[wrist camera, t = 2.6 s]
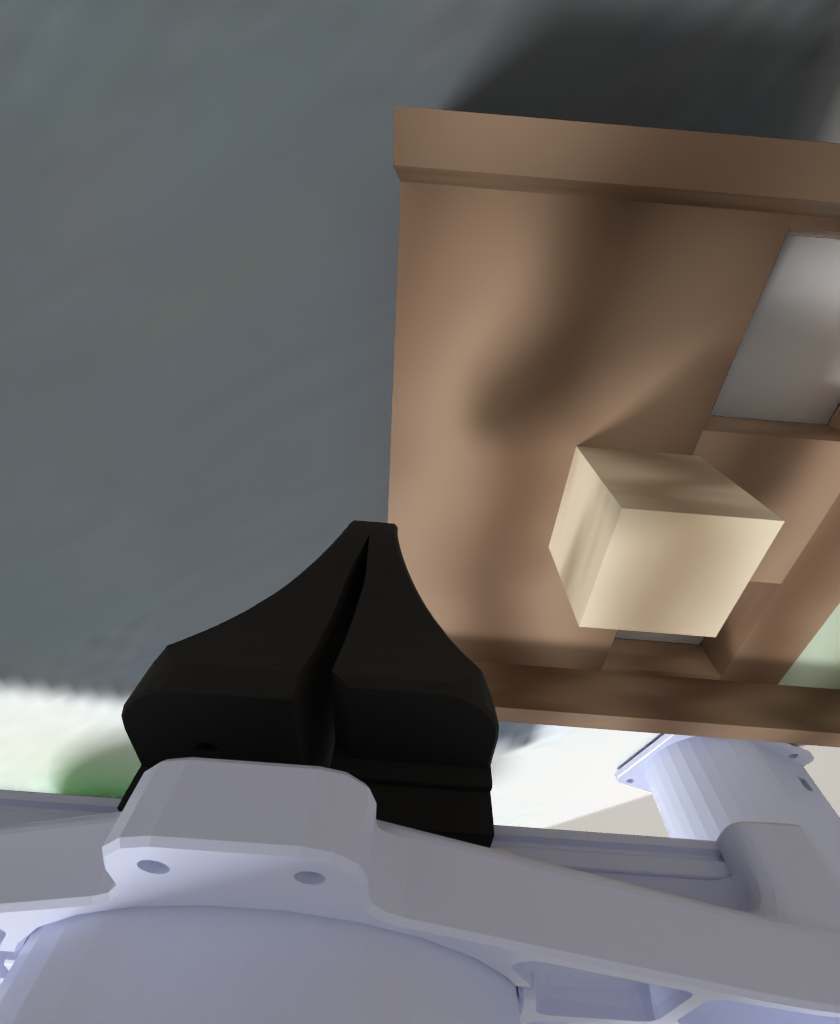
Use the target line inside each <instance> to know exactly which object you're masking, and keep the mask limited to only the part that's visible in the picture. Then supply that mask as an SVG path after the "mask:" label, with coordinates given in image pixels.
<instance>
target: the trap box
mask: <svg viewBox="0 0 840 1024" xmlns="http://www.w3.org/2000/svg"><path fill="white" fill-rule="evenodd" d="M393 166H394V168H395V170H396V173H397V175H398V177H399V179H400V181H401V193H400V218H399V244H398V270H397V296H396V322H395V347H394V373H393V399H392V425H391V451H390V477H389V502H388V523H393V524H395V525H396V526H397V527H398V540H399V545H400V549H401V552H402V556H403V558H404V561H405V564H406V567H407V569H408V572H409V574H410V577H411V579H412V581H413V583H414V585H415V587H416V589H417V591H418V593H419V595H420V597H421V598H422V600H423V602H424V603H425V605H426V607H427V608H428V610H429V611H430V613H431V614H432V616H433V617H434V619H435V620H436V621H437V623H438V624H439V625H440V627H441V628H442V629H443V630H444V632H445V633H446V634H447V636H448V637H449V638H450V639H451V640H452V641H453V643H454V644H455V645H456V646H457V647H458V648H459V649H460V650H461V651H462V652H463V653H464V654H465V655H466V656H467V657H468V658H469V659H470V660H471V661H472V662H473V663H474V664H475V665H476V666H477V667H478V668H480V669H481V670H482V673H483V675H484V677H485V680H486V682H487V685H488V687H489V690H490V693H491V696H492V699H493V703H494V706H495V710H496V714H497V718H498V721H505V722H518V723H531V724H544V725H557V726H570V727H583V728H596V729H609V730H622V731H635V732H648V733H661V734H674V735H687V736H700V737H713V738H726V739H739V740H753V741H766V742H779V743H792V744H805V745H818V746H832V747H840V404H839V406H838V408H837V409H836V411H835V413H834V415H833V416H832V418H831V420H830V422H829V423H828V425H819V424H806V423H794V422H782V421H769V420H757V419H745V418H732V417H720V416H709V415H710V413H711V411H712V408H713V406H714V404H715V401H716V399H717V397H718V394H719V392H720V390H721V387H722V385H723V383H724V380H725V378H726V376H727V373H728V371H729V369H730V366H731V364H732V361H733V359H734V357H735V354H736V352H737V350H738V347H739V345H740V343H741V340H742V338H743V336H744V333H745V331H746V329H747V326H748V324H749V322H750V319H751V317H752V315H753V312H754V310H755V308H756V305H757V303H758V301H759V298H760V296H761V294H762V291H763V289H764V287H765V284H766V282H767V280H768V277H769V275H770V272H771V270H772V268H773V265H774V263H775V261H776V258H777V256H778V254H779V251H780V249H781V247H782V244H783V242H784V240H785V237H786V235H797V236H809V237H821V238H833V239H840V144H838V143H826V142H814V141H802V140H790V139H779V138H767V137H755V136H743V135H732V134H720V133H708V132H696V131H684V130H673V129H661V128H649V127H637V126H625V125H614V124H602V123H590V122H578V121H567V120H555V119H543V118H531V117H519V116H508V115H496V114H484V113H472V112H461V111H449V110H437V109H425V108H413V107H402V106H395V110H394V142H393ZM576 446H581V447H594V448H606V449H619V450H631V451H644V452H656V453H668V454H681V455H693V456H700V457H701V458H702V459H704V460H705V461H706V462H708V463H709V464H710V465H712V466H713V467H714V468H716V469H717V470H718V471H720V472H721V473H722V474H724V475H725V476H726V477H727V478H729V479H730V480H731V481H733V482H734V483H735V484H737V485H738V486H739V487H741V488H742V489H743V490H745V491H746V492H747V493H748V494H750V495H751V496H752V497H754V498H755V499H756V500H758V501H759V502H760V503H762V504H763V505H764V506H766V507H767V508H768V509H770V510H771V511H772V512H773V513H775V514H776V515H777V516H779V517H780V518H781V519H783V520H784V521H785V522H784V523H783V525H782V527H781V529H780V530H779V532H778V534H777V535H776V537H775V539H774V540H773V542H772V544H771V545H770V547H769V549H768V550H767V552H766V554H765V555H764V557H763V559H762V560H761V562H760V564H759V565H758V567H757V569H756V570H755V572H754V574H753V575H752V577H751V579H750V581H749V582H748V584H747V586H746V587H745V589H744V591H743V592H742V594H741V596H740V597H739V599H738V601H737V602H736V604H735V606H734V607H733V609H732V611H731V612H730V614H729V616H728V617H727V619H726V621H725V622H724V624H723V626H722V627H721V629H720V631H719V633H718V634H717V636H716V637H705V638H704V640H703V641H702V643H701V645H691V644H678V643H666V642H653V641H640V640H627V639H614V638H615V636H616V633H617V631H618V630H616V629H603V628H590V627H579V625H578V622H577V620H576V617H575V615H574V612H573V609H572V607H571V604H570V602H569V599H568V596H567V594H566V591H565V588H564V586H563V583H562V581H561V578H560V575H559V573H558V570H557V568H556V565H555V562H554V560H553V557H552V554H551V552H550V549H549V544H550V540H551V536H552V533H553V529H554V526H555V522H556V518H557V515H558V511H559V507H560V504H561V500H562V496H563V493H564V489H565V485H566V482H567V478H568V475H569V471H570V467H571V464H572V460H573V456H574V453H575V449H576Z"/></svg>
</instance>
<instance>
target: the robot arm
mask: <svg viewBox="0 0 840 1024" xmlns="http://www.w3.org/2000/svg"><path fill="white" fill-rule="evenodd" d="M122 720H123V724H124V727H125V730H126V732H127V734H128V736H129V739H130V741H131V743H132V745H133V747H134V749H135V751H136V753H137V756H138V758H139V760H140V762H141V764H142V765H141V767H140V769H139V770H138V772H137V774H136V776H135V777H134V779H133V781H132V783H131V784H130V786H129V788H128V789H127V791H126V793H125V795H124V796H123V798H109V797H95V796H81V795H67V794H53V793H39V792H25V791H11V790H0V1024H840V817H839V816H838V815H837V813H836V812H835V810H834V809H833V808H832V806H831V805H830V803H829V802H828V801H827V799H826V798H825V797H824V795H823V794H822V792H821V791H820V790H819V788H818V787H817V786H816V784H815V783H814V781H813V780H812V778H811V777H810V776H809V774H808V773H807V771H806V770H805V769H804V767H803V766H805V765H806V764H808V763H810V762H811V761H812V760H813V759H814V758H813V756H812V754H811V753H810V752H809V751H807V750H804V749H802V748H799V747H796V746H793V745H790V744H788V743H779V742H766V741H753V740H739V739H726V738H713V737H700V736H687V735H674V734H664V735H662V736H661V737H660V738H659V739H657V740H656V741H655V742H653V743H652V744H651V745H650V746H648V747H647V748H646V749H644V750H643V751H642V752H641V753H639V754H638V755H637V756H636V757H634V758H633V759H632V760H630V761H629V762H628V763H627V764H625V765H624V766H623V767H621V768H620V769H619V770H618V771H616V773H615V777H616V780H617V781H618V782H621V783H624V784H627V785H630V786H634V787H637V788H640V789H643V790H647V791H650V792H652V794H653V797H654V799H655V802H656V804H657V807H658V809H659V812H660V814H661V817H662V819H663V822H664V824H665V827H666V829H667V832H668V834H669V837H670V838H667V837H653V836H639V835H625V834H611V833H596V832H583V831H570V830H555V829H542V828H528V827H514V826H500V825H493V815H492V805H491V795H490V791H491V789H492V776H491V766H490V765H491V761H492V758H493V754H494V750H495V747H496V743H497V740H498V732H499V725H498V718H497V714H496V710H495V706H494V703H493V699H492V696H491V693H490V690H489V687H488V685H487V682H486V680H485V677H484V675H483V673H482V670H481V669H480V668H478V667H477V666H476V665H475V664H474V663H473V662H472V661H471V660H470V659H469V658H468V657H467V656H466V655H465V654H464V653H463V652H462V651H461V650H460V649H459V648H458V647H457V646H456V645H455V644H454V643H453V641H452V640H451V639H450V638H449V637H448V636H447V634H446V633H445V632H444V630H443V629H442V628H441V627H440V625H439V624H438V623H437V621H436V620H435V619H434V617H433V616H432V614H431V613H430V611H429V610H428V608H427V607H426V605H425V603H424V602H423V600H422V598H421V597H420V595H419V593H418V591H417V589H416V587H415V585H414V583H413V581H412V579H411V577H410V574H409V572H408V569H407V567H406V564H405V561H404V558H403V556H402V552H401V549H400V545H399V540H398V527H397V526H396V525H395V524H393V523H380V522H367V521H353V522H351V523H350V524H349V525H348V527H347V528H346V529H345V530H344V531H343V533H342V534H341V535H340V536H339V537H338V538H337V539H336V540H335V542H334V543H333V544H332V545H331V546H330V547H329V548H328V549H327V550H326V551H325V552H324V553H323V554H322V555H321V556H320V557H319V558H318V559H317V560H316V561H315V562H313V563H312V564H311V565H310V566H309V567H308V568H307V569H306V570H305V571H303V572H302V573H301V574H300V575H299V576H298V577H296V578H295V579H294V580H293V581H291V582H290V583H289V584H287V585H286V586H285V587H283V588H282V589H281V590H279V591H278V592H276V593H275V594H273V595H272V596H270V597H268V598H267V599H265V600H263V601H262V602H260V603H258V604H257V605H255V606H254V607H252V608H250V609H249V610H247V611H245V612H243V613H241V614H239V615H237V616H235V617H233V618H232V619H229V620H227V621H225V622H223V623H221V624H219V625H217V626H215V627H213V628H210V629H208V630H206V631H203V632H201V633H198V634H196V635H193V636H191V637H188V638H186V639H183V640H181V641H179V642H176V643H173V644H171V645H168V646H167V647H166V648H165V649H164V651H163V652H162V653H161V654H160V655H159V657H158V658H157V659H156V660H155V661H154V663H153V664H152V665H151V667H150V668H149V670H148V671H147V672H146V674H145V675H144V677H143V678H142V680H141V681H140V683H139V684H138V685H137V687H136V688H135V690H134V691H133V693H132V694H131V696H130V697H129V699H128V700H127V701H126V703H125V704H124V707H123V711H122Z"/></svg>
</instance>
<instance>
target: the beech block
mask: <svg viewBox="0 0 840 1024" xmlns="http://www.w3.org/2000/svg"><path fill="white" fill-rule="evenodd" d="M784 522H785V521H784V520H783V519H781V518H780V517H779V516H777V515H776V514H775V513H773V512H772V511H771V510H770V509H768V508H767V507H766V506H764V505H763V504H762V503H760V502H759V501H758V500H756V499H755V498H754V497H752V496H751V495H750V494H748V493H747V492H746V491H745V490H743V489H742V488H741V487H739V486H738V485H737V484H735V483H734V482H733V481H731V480H730V479H729V478H727V477H726V476H725V475H724V474H722V473H721V472H720V471H718V470H717V469H716V468H714V467H713V466H712V465H710V464H709V463H708V462H706V461H705V460H704V459H702V458H701V457H700V456H693V455H681V454H668V453H656V452H644V451H631V450H619V449H606V448H594V447H581V446H576V449H575V453H574V456H573V460H572V464H571V467H570V471H569V475H568V478H567V482H566V485H565V489H564V493H563V496H562V500H561V504H560V507H559V511H558V515H557V518H556V522H555V526H554V529H553V533H552V536H551V540H550V544H549V549H550V552H551V554H552V557H553V560H554V562H555V565H556V568H557V570H558V573H559V575H560V578H561V581H562V583H563V586H564V588H565V591H566V594H567V596H568V599H569V602H570V604H571V607H572V609H573V612H574V615H575V617H576V620H577V622H578V625H579V627H590V628H603V629H616V630H628V631H641V632H654V633H667V634H680V635H692V636H705V637H716V636H717V634H718V633H719V631H720V629H721V627H722V626H723V624H724V622H725V621H726V619H727V617H728V616H729V614H730V612H731V611H732V609H733V607H734V606H735V604H736V602H737V601H738V599H739V597H740V596H741V594H742V592H743V591H744V589H745V587H746V586H747V584H748V582H749V581H750V579H751V577H752V575H753V574H754V572H755V570H756V569H757V567H758V565H759V564H760V562H761V560H762V559H763V557H764V555H765V554H766V552H767V550H768V549H769V547H770V545H771V544H772V542H773V540H774V539H775V537H776V535H777V534H778V532H779V530H780V529H781V527H782V525H783V523H784Z"/></svg>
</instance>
